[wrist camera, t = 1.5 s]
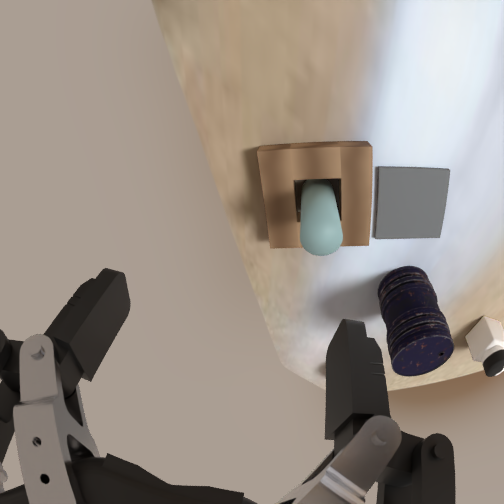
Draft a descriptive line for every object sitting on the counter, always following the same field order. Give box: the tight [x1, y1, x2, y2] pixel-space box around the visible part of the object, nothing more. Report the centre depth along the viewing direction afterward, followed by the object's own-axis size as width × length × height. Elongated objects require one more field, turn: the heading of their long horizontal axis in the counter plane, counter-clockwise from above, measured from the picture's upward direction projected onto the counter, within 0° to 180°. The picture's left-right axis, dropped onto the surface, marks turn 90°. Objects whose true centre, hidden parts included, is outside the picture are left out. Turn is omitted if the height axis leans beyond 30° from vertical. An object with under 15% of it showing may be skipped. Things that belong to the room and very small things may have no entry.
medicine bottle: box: [465, 316, 504, 377], centre depth 43 cm, size 7×7×12 cm
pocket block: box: [257, 141, 372, 248], centre depth 37 cm, size 14×14×3 cm
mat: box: [375, 167, 450, 239], centre depth 37 cm, size 11×11×1 cm
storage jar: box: [378, 266, 454, 376], centre depth 39 cm, size 10×10×15 cm
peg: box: [300, 179, 343, 256], centre depth 34 cm, size 4×4×12 cm
